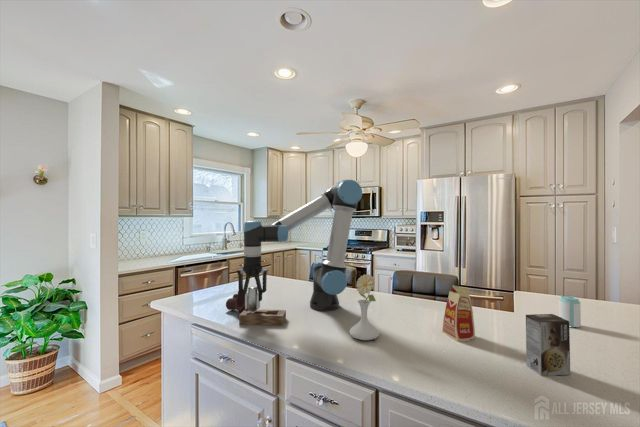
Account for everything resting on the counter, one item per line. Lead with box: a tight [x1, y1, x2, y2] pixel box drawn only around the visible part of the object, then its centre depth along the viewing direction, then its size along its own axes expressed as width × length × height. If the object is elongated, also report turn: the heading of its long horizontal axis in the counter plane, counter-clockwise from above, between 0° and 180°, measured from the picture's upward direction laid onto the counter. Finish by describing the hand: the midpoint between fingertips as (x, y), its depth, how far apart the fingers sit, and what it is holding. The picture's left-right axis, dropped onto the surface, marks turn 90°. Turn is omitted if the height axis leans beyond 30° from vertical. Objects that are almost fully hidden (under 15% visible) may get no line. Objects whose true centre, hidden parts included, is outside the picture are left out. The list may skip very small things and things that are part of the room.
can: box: [558, 295, 582, 328], centre depth 125 cm, size 7×7×12 cm
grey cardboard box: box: [525, 313, 571, 377], centre depth 89 cm, size 9×6×16 cm
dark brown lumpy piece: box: [225, 290, 248, 314], centre depth 141 cm, size 6×17×10 cm, turn 54°
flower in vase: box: [349, 273, 380, 341], centre depth 113 cm, size 13×11×25 cm
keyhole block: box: [238, 309, 287, 326], centre depth 130 cm, size 19×8×4 cm, turn 87°
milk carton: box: [441, 284, 476, 342], centre depth 115 cm, size 9×9×20 cm
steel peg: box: [247, 286, 258, 314], centre depth 130 cm, size 4×4×14 cm
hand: (252, 307), depth 130 cm, fingers open, 4 cm apart
